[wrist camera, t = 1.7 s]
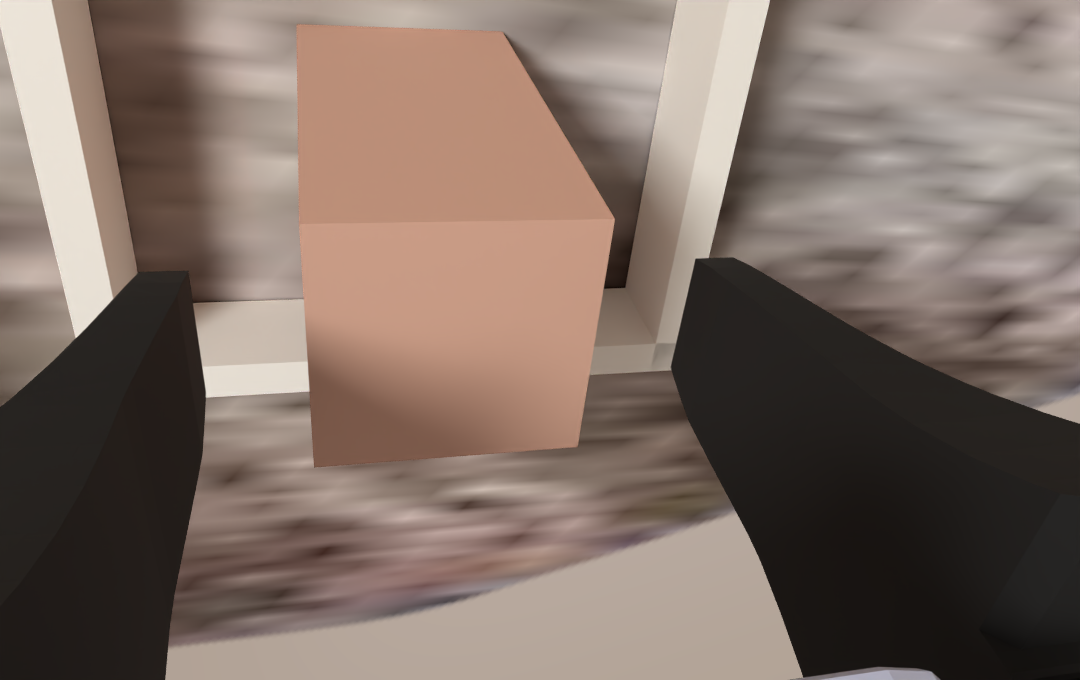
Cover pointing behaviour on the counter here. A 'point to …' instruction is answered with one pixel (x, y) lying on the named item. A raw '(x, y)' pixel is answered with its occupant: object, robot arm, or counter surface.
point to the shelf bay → (279, 325)
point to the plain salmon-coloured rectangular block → (440, 249)
